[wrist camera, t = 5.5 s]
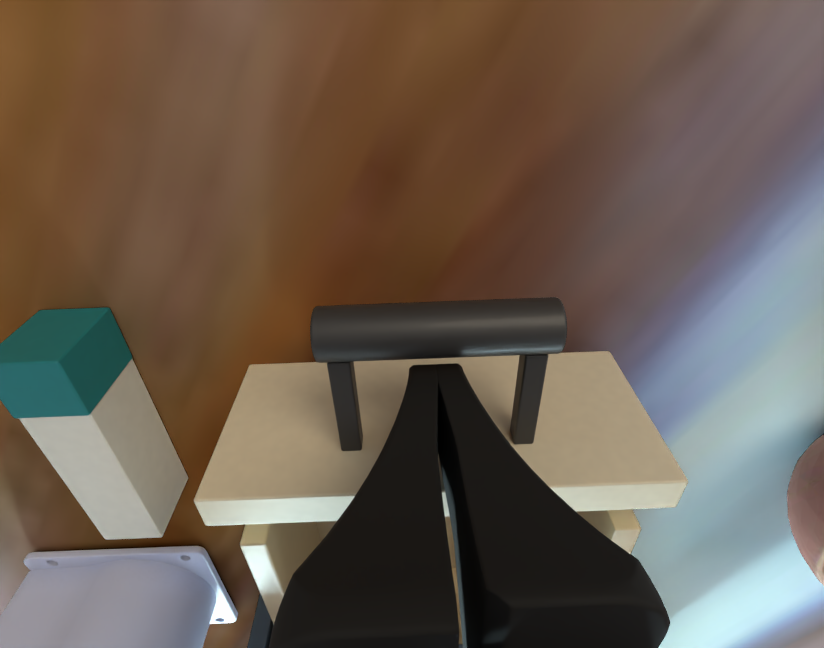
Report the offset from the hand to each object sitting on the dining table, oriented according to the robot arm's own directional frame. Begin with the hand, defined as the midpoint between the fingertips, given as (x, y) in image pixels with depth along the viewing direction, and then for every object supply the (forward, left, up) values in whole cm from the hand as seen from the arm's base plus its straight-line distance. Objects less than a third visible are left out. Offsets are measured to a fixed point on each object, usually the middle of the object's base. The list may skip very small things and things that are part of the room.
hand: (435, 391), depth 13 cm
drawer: (0, -6, -4) cm, 7 cm away
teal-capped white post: (-12, -4, -5) cm, 14 cm away
